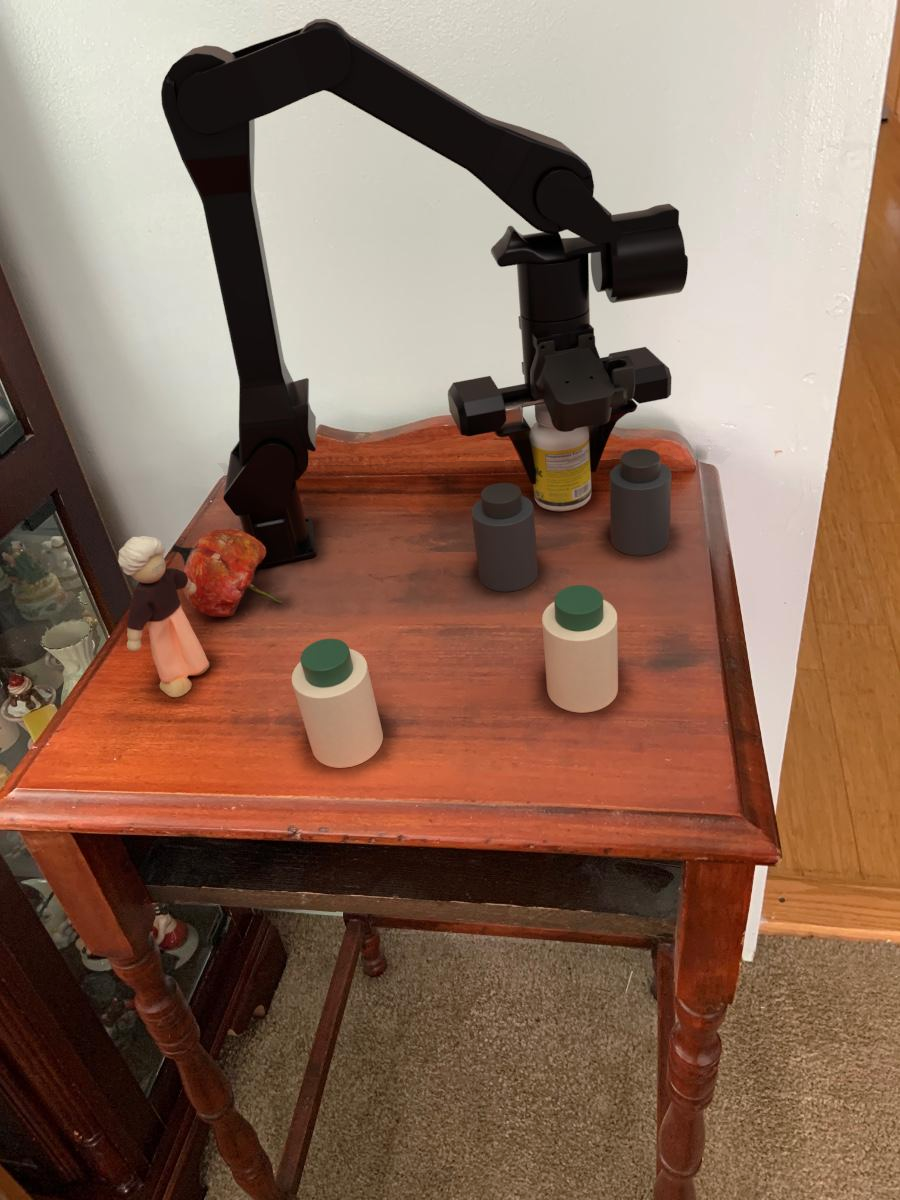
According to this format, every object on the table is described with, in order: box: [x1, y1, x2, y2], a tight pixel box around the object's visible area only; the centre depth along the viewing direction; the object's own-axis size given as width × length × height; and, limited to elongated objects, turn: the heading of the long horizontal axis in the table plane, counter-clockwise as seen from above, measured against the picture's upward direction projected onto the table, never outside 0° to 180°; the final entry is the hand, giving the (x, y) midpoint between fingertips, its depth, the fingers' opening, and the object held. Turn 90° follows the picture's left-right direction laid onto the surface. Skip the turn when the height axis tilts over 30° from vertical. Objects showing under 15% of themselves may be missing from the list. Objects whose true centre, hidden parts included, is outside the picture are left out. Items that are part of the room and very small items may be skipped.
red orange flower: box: [168, 528, 282, 618], centre depth 76 cm, size 7×7×10 cm
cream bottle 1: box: [291, 638, 384, 769], centre depth 61 cm, size 5×5×8 cm
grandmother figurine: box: [117, 535, 210, 698], centre depth 68 cm, size 8×4×13 cm, turn 168°
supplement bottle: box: [530, 403, 592, 512], centre depth 83 cm, size 5×5×10 cm
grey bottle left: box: [471, 482, 539, 593], centre depth 75 cm, size 5×5×8 cm
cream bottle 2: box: [541, 584, 619, 714], centre depth 62 cm, size 5×5×8 cm
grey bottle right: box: [609, 448, 672, 557], centre depth 76 cm, size 5×5×8 cm
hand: (561, 476), depth 84 cm, fingers closed on supplement bottle, 5 cm apart
